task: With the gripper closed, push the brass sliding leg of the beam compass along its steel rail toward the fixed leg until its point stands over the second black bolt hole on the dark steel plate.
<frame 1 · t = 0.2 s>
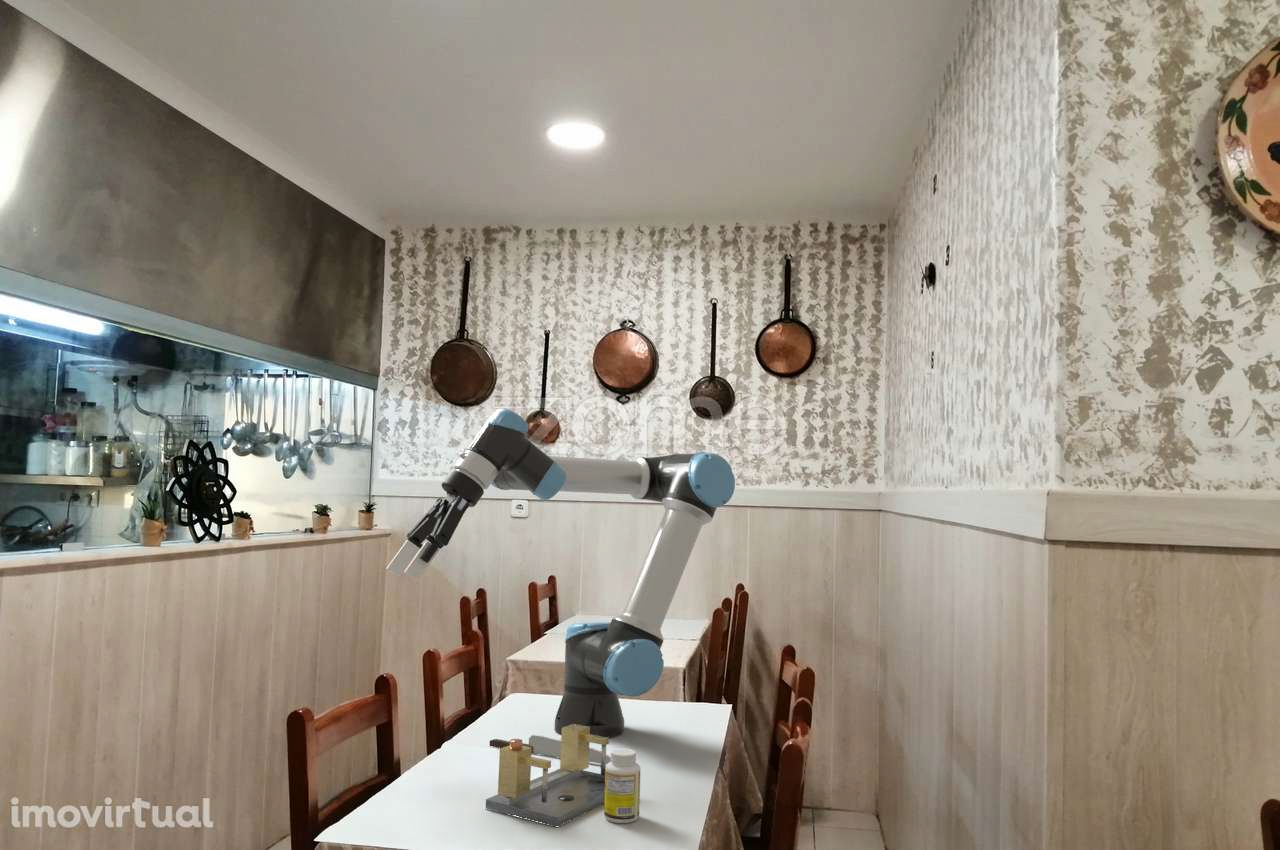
hand: (400, 574, 160), 35 cm above the table, tool tilted 35°, fingers open, 13 cm apart
bolt plate: (561, 798, 148), on the table
supplement bottle: (621, 819, 139), on the table
sliding leg: (526, 770, 141), point 7 cm above the table, slide at 0.0 cm
fixed leg: (573, 783, 156), resting on bolt plate
kitchen knife: (554, 759, 171), on the table
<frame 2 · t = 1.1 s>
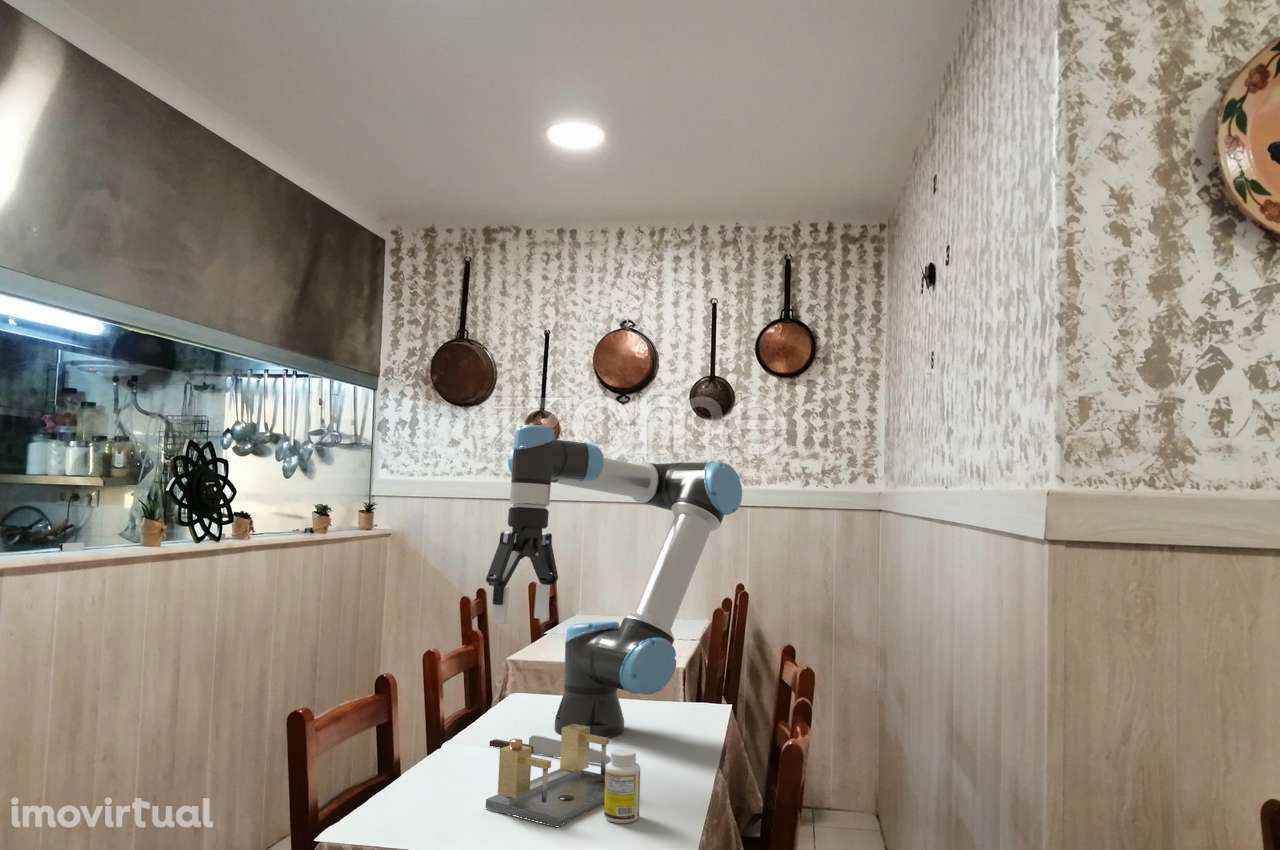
hand: (520, 621, 165), 27 cm above the table, tool pointing down, fingers open, 13 cm apart
nothing on the table moved.
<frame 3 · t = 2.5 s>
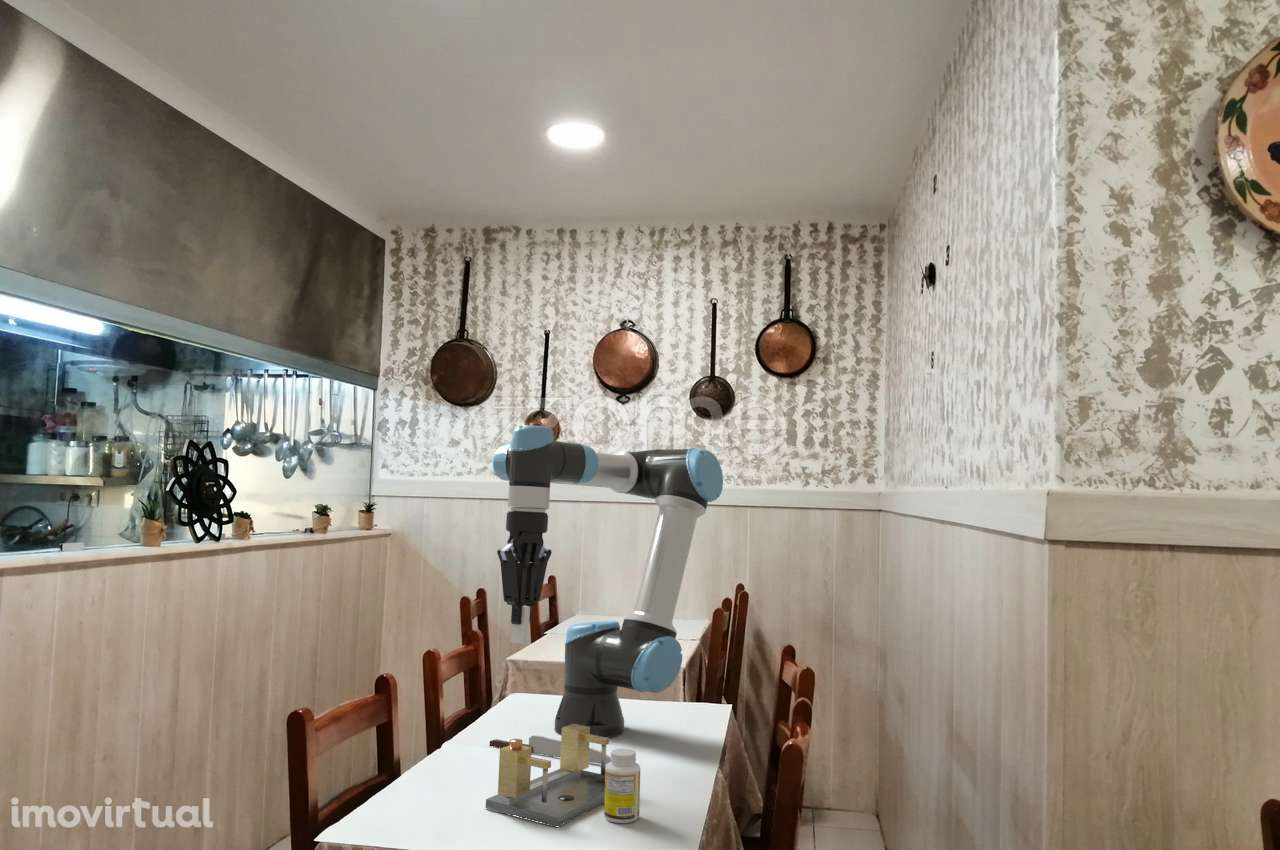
hand: (519, 642, 159), 24 cm above the table, tool pointing down, fingers closed
nothing on the table moved.
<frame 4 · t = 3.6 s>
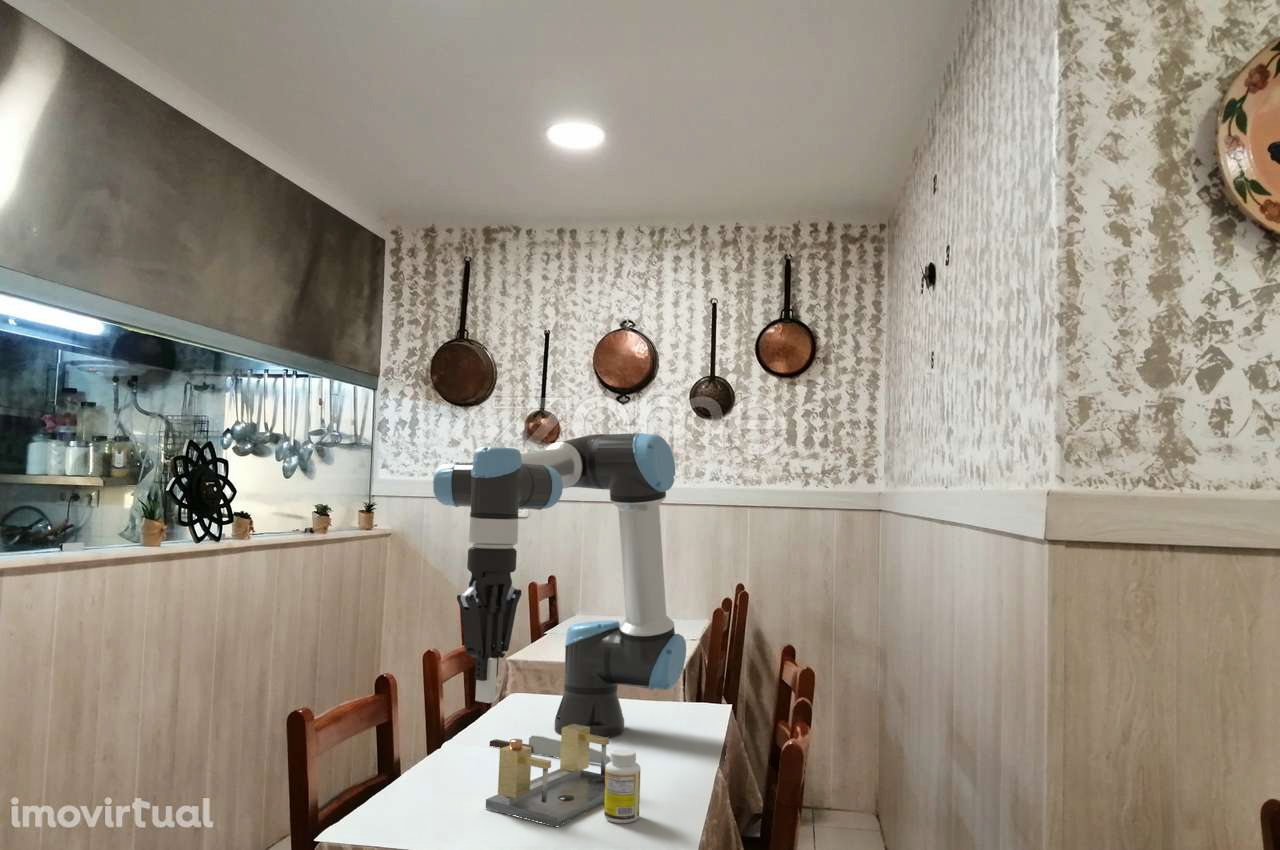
hand: (485, 700, 136), 18 cm above the table, tool pointing down, fingers closed
nothing on the table moved.
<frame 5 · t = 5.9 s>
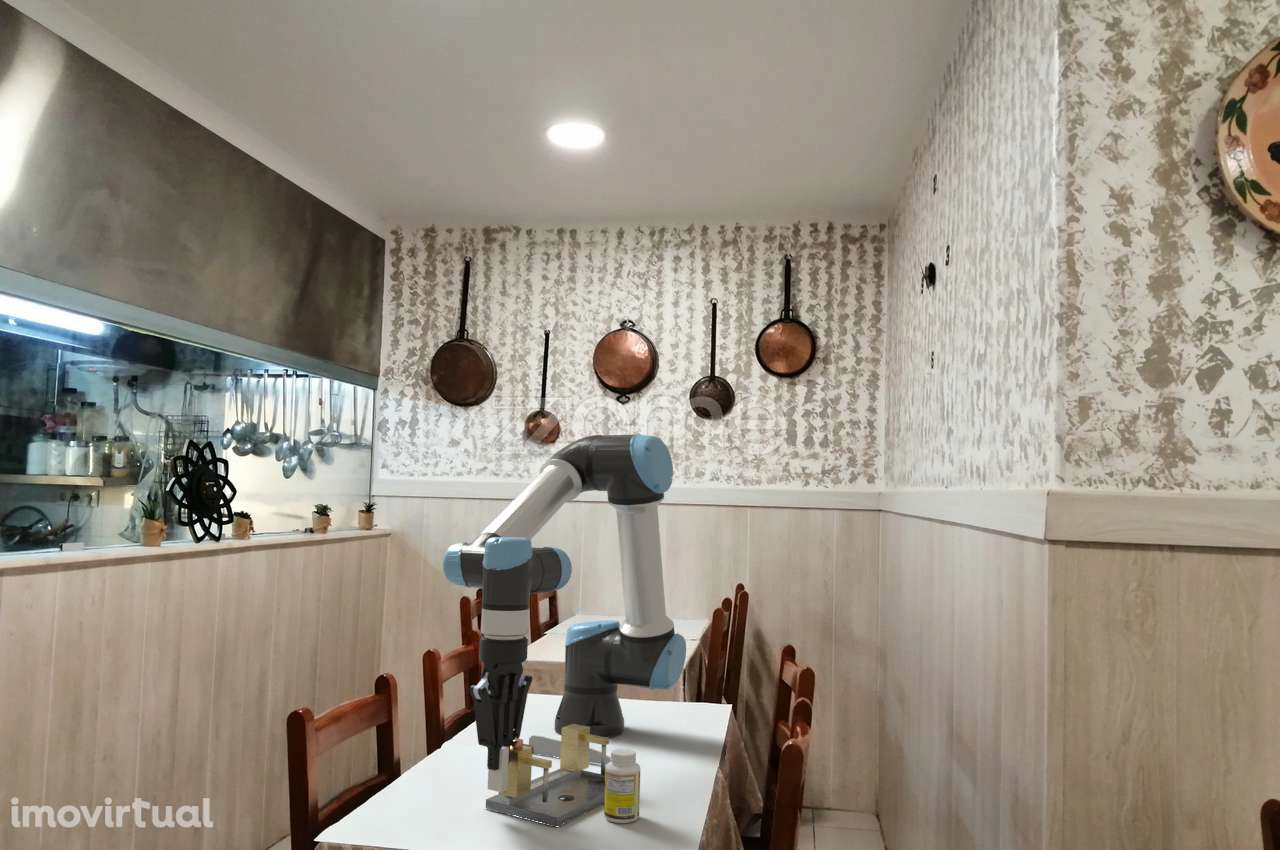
hand: (497, 789, 138), 4 cm above the table, tool pointing down, fingers closed
sliding leg: (527, 769, 141), point 7 cm above the table, slide at 0.2 cm, touching gripper
everything else where it was.
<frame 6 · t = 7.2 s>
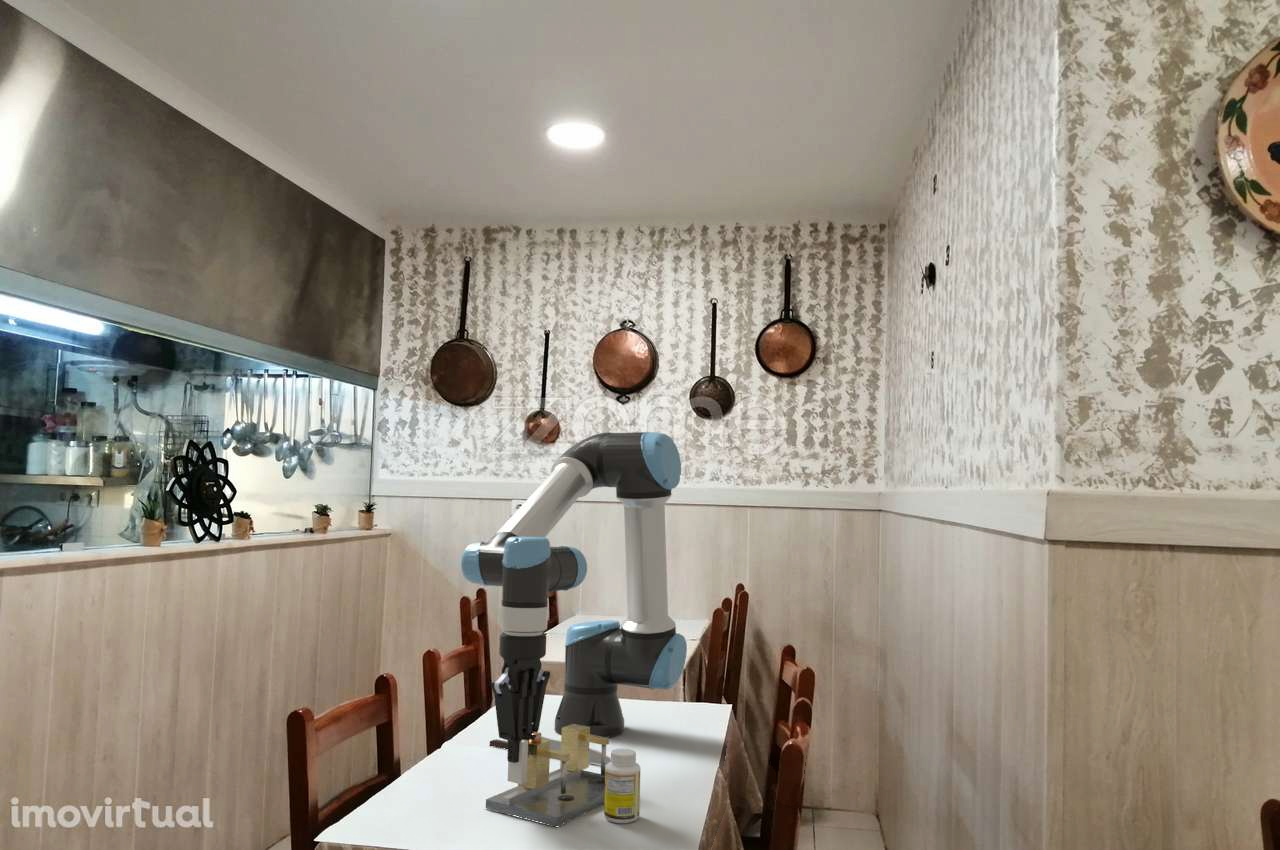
hand: (517, 781, 142), 4 cm above the table, tool pointing down, fingers closed
sliding leg: (546, 762, 145), point 7 cm above the table, slide at 5.1 cm, touching gripper
everything else where it was.
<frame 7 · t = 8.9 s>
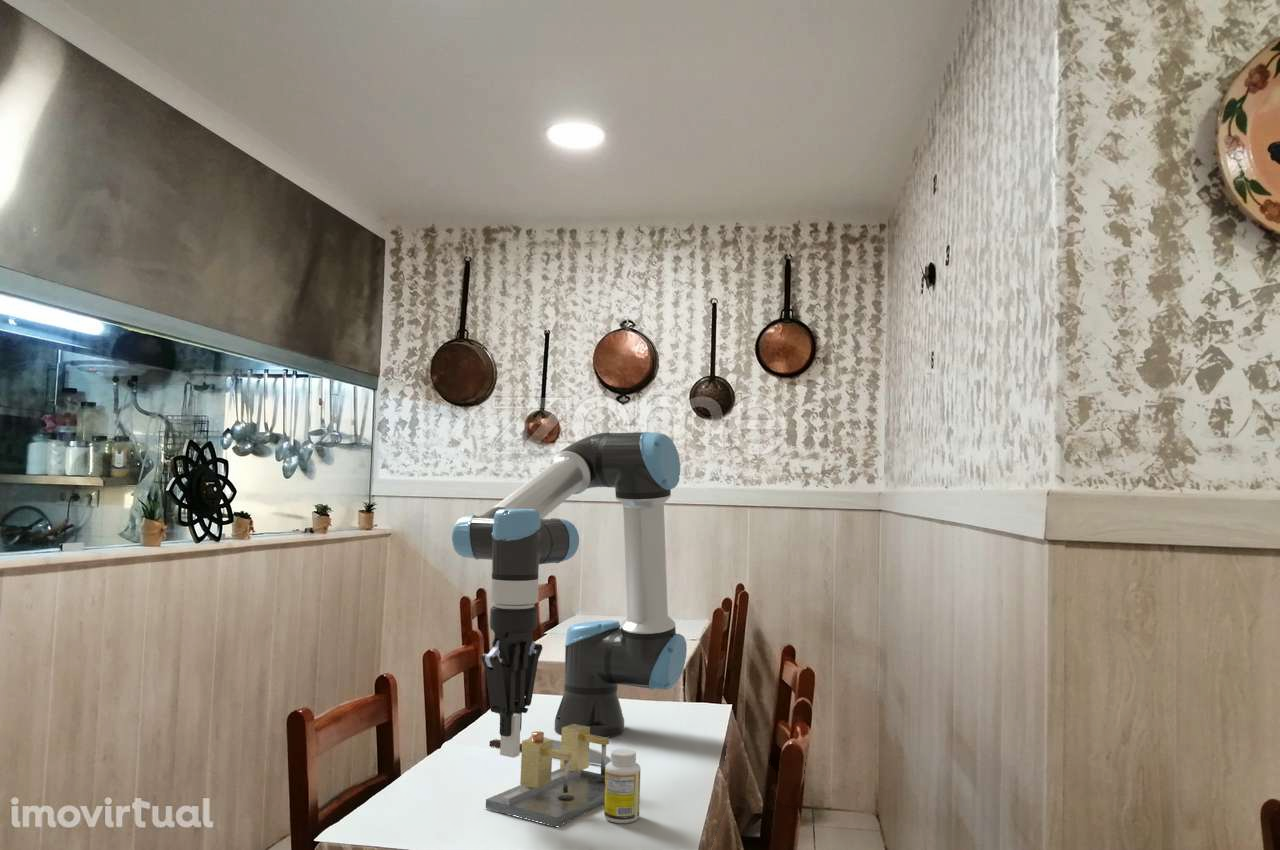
hand: (509, 754, 141), 9 cm above the table, tool pointing down, fingers closed
sliding leg: (548, 761, 146), point 7 cm above the table, slide at 5.7 cm
everything else where it was.
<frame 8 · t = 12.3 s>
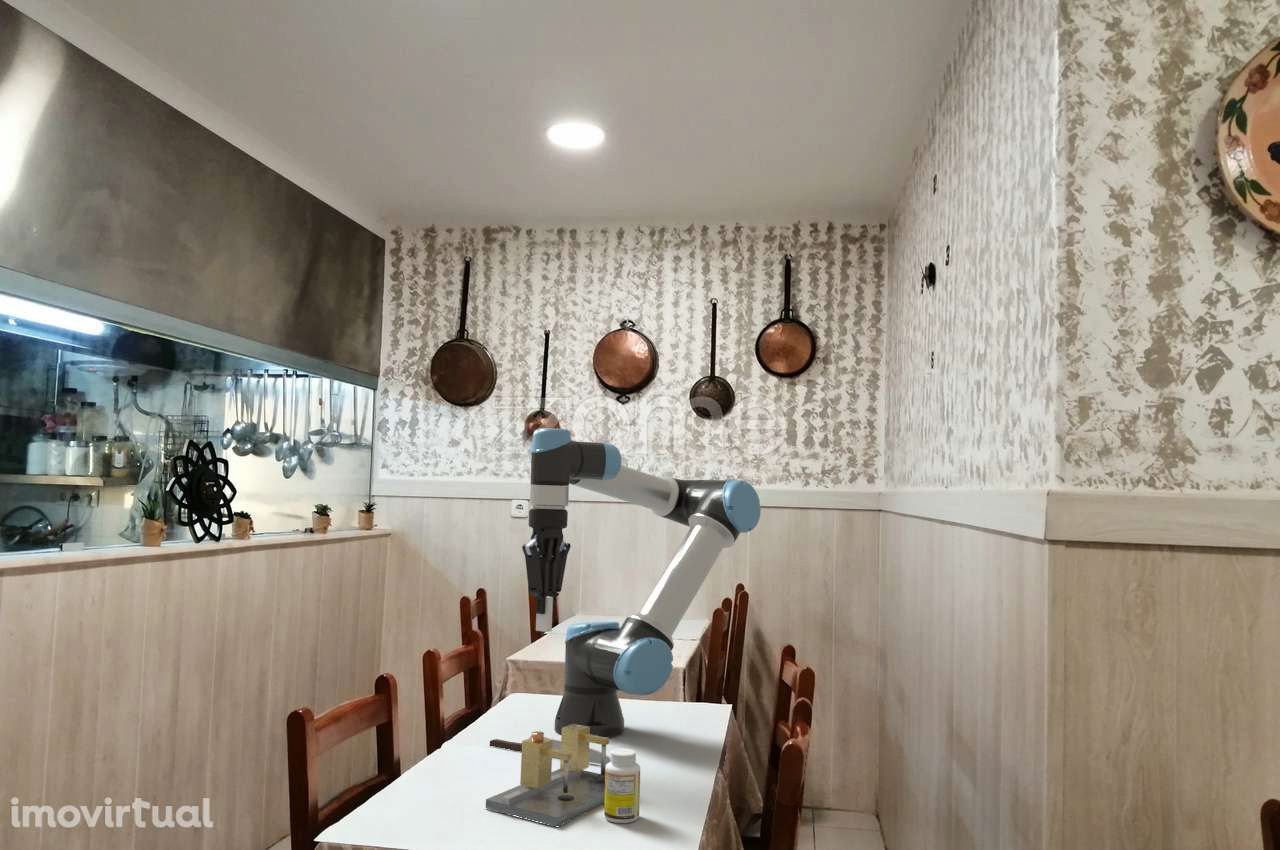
hand: (543, 630, 171), 24 cm above the table, tool pointing down, fingers closed
nothing on the table moved.
at the end: sliding leg slide at 5.7 cm; sliding leg 0.3 cm from the target spot, resting on bolt plate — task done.
